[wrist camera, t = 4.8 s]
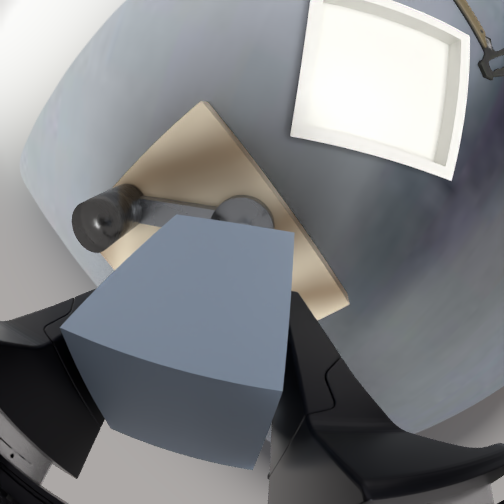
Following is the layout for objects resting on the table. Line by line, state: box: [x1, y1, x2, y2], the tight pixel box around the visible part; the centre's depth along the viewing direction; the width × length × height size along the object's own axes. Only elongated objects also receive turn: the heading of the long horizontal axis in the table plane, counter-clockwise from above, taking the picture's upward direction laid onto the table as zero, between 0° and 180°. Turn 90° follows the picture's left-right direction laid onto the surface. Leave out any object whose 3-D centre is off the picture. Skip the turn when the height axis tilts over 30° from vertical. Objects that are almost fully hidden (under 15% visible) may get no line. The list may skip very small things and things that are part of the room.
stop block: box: [60, 214, 294, 470], centre depth 8 cm, size 4×4×6 cm
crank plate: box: [100, 101, 350, 320], centre depth 23 cm, size 19×16×2 cm
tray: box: [290, 0, 470, 181], centre depth 14 cm, size 12×12×2 cm
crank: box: [72, 184, 275, 253], centre depth 18 cm, size 14×4×5 cm, turn 82°
